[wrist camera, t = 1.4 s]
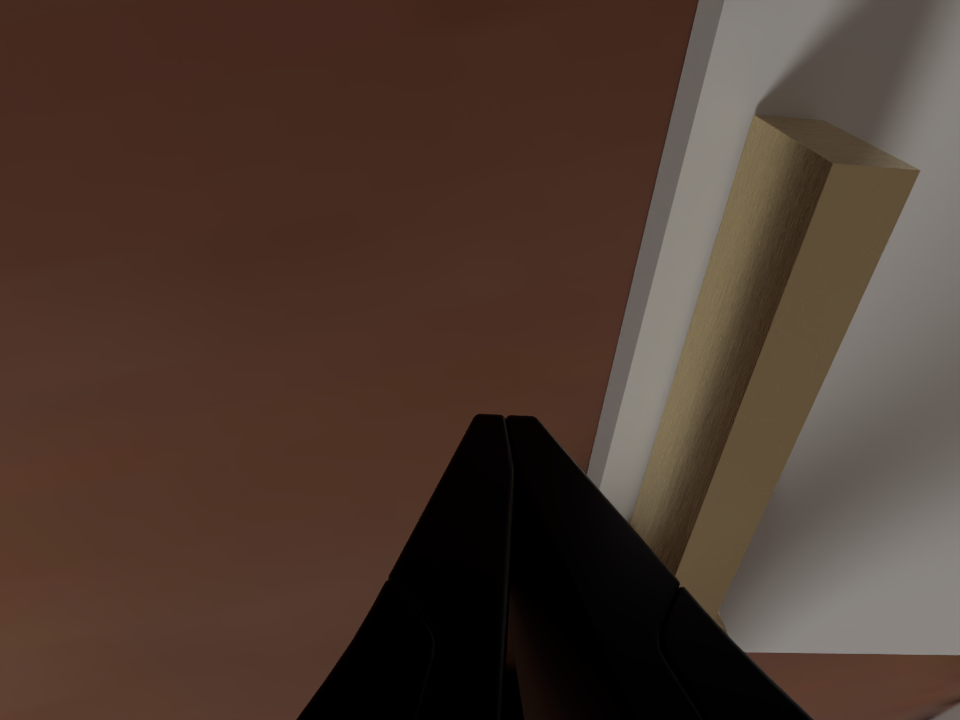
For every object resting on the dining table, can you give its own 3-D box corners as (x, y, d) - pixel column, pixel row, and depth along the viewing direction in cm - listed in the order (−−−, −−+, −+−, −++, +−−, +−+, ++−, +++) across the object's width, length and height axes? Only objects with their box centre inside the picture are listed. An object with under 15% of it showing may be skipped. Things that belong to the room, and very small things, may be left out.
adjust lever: (680, 607, 24) (713, 702, 21) (571, 605, 23) (589, 701, 20) (876, 124, 14) (985, 175, 11) (700, 110, 14) (765, 158, 11)
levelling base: (969, 622, 28) (1020, 691, 25) (553, 615, 26) (564, 687, 24) (1498, -30, 15) (1713, -21, 12) (726, -115, 13) (790, -125, 11)
